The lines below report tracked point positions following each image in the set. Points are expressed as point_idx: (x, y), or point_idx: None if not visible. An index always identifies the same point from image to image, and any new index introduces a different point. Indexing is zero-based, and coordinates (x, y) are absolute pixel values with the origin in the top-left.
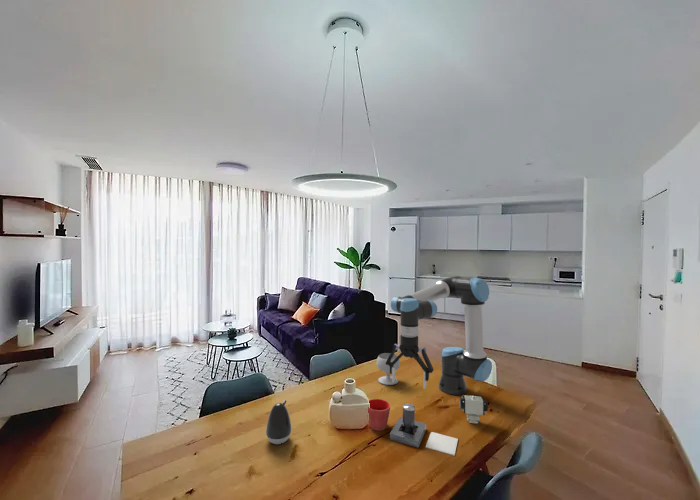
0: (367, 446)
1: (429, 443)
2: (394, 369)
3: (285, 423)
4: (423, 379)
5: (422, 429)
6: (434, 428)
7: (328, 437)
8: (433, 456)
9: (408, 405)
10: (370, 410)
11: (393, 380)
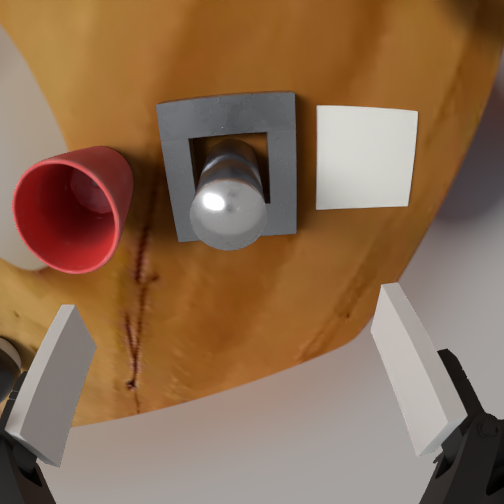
0: (143, 291)
1: (326, 186)
2: (48, 425)
3: (6, 388)
4: (400, 401)
5: (291, 148)
6: (322, 67)
7: (46, 305)
8: (346, 237)
9: (222, 207)
10: (67, 267)
11: (90, 362)
